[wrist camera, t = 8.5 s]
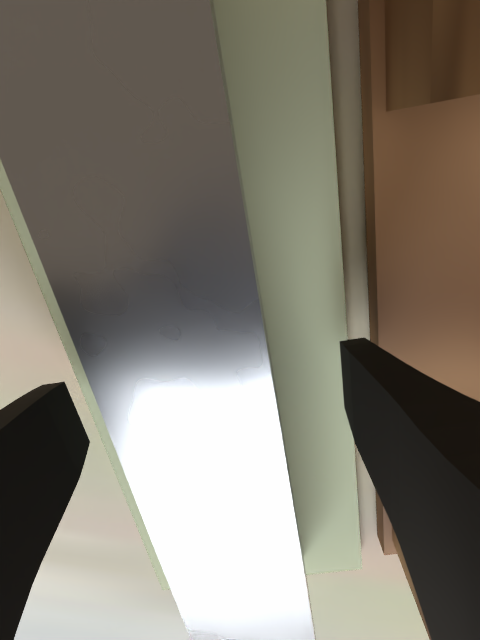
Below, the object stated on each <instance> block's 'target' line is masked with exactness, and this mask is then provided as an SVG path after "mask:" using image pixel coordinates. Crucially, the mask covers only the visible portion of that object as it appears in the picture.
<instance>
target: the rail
mask: <svg viewBox="0 0 480 640" xmlns="http://www.w3.org/2000/svg"><path fill="white" fill-rule="evenodd" d="M0 160H1V162H2V165H3V167H4V170H5V172H6V175H7V177H8V180H9V182H10V185H11V187H12V190H13V192H14V195H15V197H16V200H17V202H18V205H19V207H20V210H21V212H22V215H23V218H24V220H25V223H26V225H27V228H28V230H29V233H30V235H31V238H32V240H33V243H34V245H35V248H36V250H37V253H38V255H39V258H40V260H41V263H42V265H43V268H44V271H45V273H46V276H47V278H48V281H49V283H50V286H51V288H52V291H53V293H54V296H55V298H56V301H57V303H58V306H59V308H60V311H61V313H62V316H63V318H64V321H65V324H66V326H67V329H68V331H69V334H70V336H71V339H72V341H73V344H74V346H75V349H76V351H77V354H78V356H79V359H80V361H81V364H82V366H83V369H84V371H85V374H86V377H87V379H88V382H89V384H90V387H91V389H92V392H93V394H94V397H95V399H96V402H97V404H98V407H99V409H100V412H101V414H102V417H103V419H104V422H105V424H106V427H107V430H108V432H109V435H110V437H111V440H112V442H113V445H114V447H115V450H116V452H117V455H118V457H119V460H120V462H121V465H122V467H123V470H124V472H125V475H126V477H127V480H128V483H129V485H130V488H131V490H132V493H133V495H134V498H135V500H136V503H137V505H138V508H139V510H140V513H141V515H142V518H143V520H144V523H145V525H146V528H147V530H148V533H149V536H150V538H151V541H152V543H153V546H154V548H155V551H156V553H157V556H158V558H159V561H160V563H161V566H162V568H163V571H164V573H165V576H166V578H167V581H168V583H169V586H170V589H171V591H172V594H173V596H174V599H175V601H176V604H177V606H178V609H179V611H180V614H181V616H182V619H183V621H184V624H185V626H186V629H187V631H188V634H189V636H190V639H191V640H316V638H315V631H314V624H313V618H312V611H311V604H310V598H309V591H308V584H307V578H306V571H305V564H304V557H303V551H302V545H301V539H300V533H299V527H298V521H297V514H296V508H295V502H294V496H293V490H292V484H291V477H290V471H289V465H288V459H287V453H286V447H285V440H284V434H283V428H282V422H281V416H280V410H279V404H278V397H277V391H276V385H275V379H274V373H273V367H272V360H271V354H270V348H269V342H268V336H267V330H266V323H265V317H264V311H263V305H262V299H261V293H260V286H259V280H258V274H257V268H256V262H255V256H254V250H253V243H252V237H251V231H250V225H249V219H248V213H247V206H246V200H245V194H244V188H243V182H242V176H241V169H240V163H239V157H238V151H237V145H236V139H235V133H234V126H233V120H232V114H231V108H230V102H229V96H228V89H227V83H226V77H225V71H224V65H223V59H222V52H221V46H220V40H219V34H218V28H217V22H216V16H215V9H214V3H213V0H0Z"/></svg>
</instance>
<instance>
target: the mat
mask: <svg viewBox="0 0 480 640" xmlns="http://www.w3.org/2000/svg"><path fill="white" fill-rule="evenodd" d="M213 3H214V9H215V16H216V22H217V28H218V34H219V40H220V46H221V52H222V59H223V65H224V71H225V77H226V83H227V89H228V96H229V102H230V108H231V114H232V120H233V126H234V133H235V139H236V145H237V151H238V157H239V163H240V169H241V176H242V182H243V188H244V194H245V200H246V206H247V213H248V219H249V225H250V231H251V237H252V243H253V250H254V256H255V262H256V268H257V274H258V280H259V286H260V293H261V299H262V305H263V311H264V317H265V323H266V330H267V336H268V342H269V348H270V354H271V360H272V367H273V373H274V379H275V385H276V391H277V397H278V404H279V410H280V416H281V422H282V428H283V434H284V440H285V447H286V453H287V459H288V465H289V471H290V477H291V484H292V490H293V496H294V502H295V508H296V514H297V521H298V527H299V533H300V539H301V545H302V551H303V557H304V564H305V571H306V575H311V574H321V573H330V572H340V571H349V570H359V569H362V557H361V542H360V526H359V510H358V495H357V479H356V463H355V448H354V438H353V435H352V431H351V428H350V425H349V422H348V418H347V415H346V411H345V408H344V396H343V382H342V369H341V355H340V342H339V341H345V340H348V338H347V323H346V307H345V291H344V276H343V260H342V244H341V229H340V213H339V197H338V182H337V166H336V150H335V135H334V119H333V103H332V88H331V72H330V56H329V41H328V25H327V9H326V0H213ZM0 190H1V193H2V195H3V197H4V200H5V202H6V205H7V207H8V210H9V212H10V215H11V217H12V220H13V222H14V225H15V227H16V230H17V232H18V234H19V237H20V239H21V242H22V244H23V247H24V249H25V252H26V254H27V257H28V259H29V262H30V264H31V267H32V269H33V271H34V274H35V276H36V279H37V281H38V284H39V286H40V289H41V291H42V294H43V296H44V299H45V301H46V304H47V306H48V309H49V311H50V313H51V316H52V318H53V321H54V323H55V326H56V328H57V331H58V333H59V336H60V338H61V341H62V343H63V346H64V348H65V350H66V353H67V355H68V358H69V360H70V363H71V365H72V368H73V370H74V373H75V375H76V378H77V380H78V383H79V385H80V387H81V390H82V392H83V395H84V397H85V400H86V402H87V405H88V407H89V410H90V412H91V415H92V417H93V420H94V422H95V424H96V427H97V429H98V432H99V434H100V437H101V439H102V442H103V444H104V447H105V449H106V452H107V454H108V457H109V459H110V461H111V464H112V466H113V469H114V471H115V474H116V476H117V479H118V481H119V484H120V486H121V489H122V491H123V494H124V496H125V499H126V501H127V503H128V506H129V508H130V511H131V513H132V516H133V518H134V521H135V523H136V526H137V528H138V531H139V533H140V536H141V538H142V540H143V543H144V545H145V548H146V550H147V553H148V555H149V558H150V560H151V563H152V565H153V568H154V570H155V573H156V575H157V577H158V580H159V582H160V585H161V587H162V590H169V589H170V586H169V583H168V581H167V578H166V576H165V573H164V571H163V568H162V566H161V563H160V561H159V558H158V556H157V553H156V551H155V548H154V546H153V543H152V541H151V538H150V536H149V533H148V530H147V528H146V525H145V523H144V520H143V518H142V515H141V513H140V510H139V508H138V505H137V503H136V500H135V498H134V495H133V493H132V490H131V488H130V485H129V483H128V480H127V477H126V475H125V472H124V470H123V467H122V465H121V462H120V460H119V457H118V455H117V452H116V450H115V447H114V445H113V442H112V440H111V437H110V435H109V432H108V430H107V427H106V424H105V422H104V419H103V417H102V414H101V412H100V409H99V407H98V404H97V402H96V399H95V397H94V394H93V392H92V389H91V387H90V384H89V382H88V379H87V377H86V374H85V371H84V369H83V366H82V364H81V361H80V359H79V356H78V354H77V351H76V349H75V346H74V344H73V341H72V339H71V336H70V334H69V331H68V329H67V326H66V324H65V321H64V318H63V316H62V313H61V311H60V308H59V306H58V303H57V301H56V298H55V296H54V293H53V291H52V288H51V286H50V283H49V281H48V278H47V276H46V273H45V271H44V268H43V265H42V263H41V260H40V258H39V255H38V253H37V250H36V248H35V245H34V243H33V240H32V238H31V235H30V233H29V230H28V228H27V225H26V223H25V220H24V218H23V215H22V212H21V210H20V207H19V205H18V202H17V200H16V197H15V195H14V192H13V190H12V187H11V185H10V182H9V180H8V177H7V175H6V172H5V170H4V167H3V165H2V162H1V160H0Z"/></svg>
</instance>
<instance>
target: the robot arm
mask: <svg viewBox="0 0 480 640" xmlns="http://www.w3.org/2000/svg"><path fill="white" fill-rule="evenodd" d="M339 342H340V355H341V369H342V382H343V396H344V408H345V411H346V415H347V418H348V422H349V425H350V428H351V431H352V435H353V438H354V441H355V444H356V446H357V448H358V451H359V453H360V455H361V457H362V460H363V462H364V464H365V466H366V469H367V471H368V473H369V475H370V477H371V480H372V482H373V484H374V486H375V489H376V491H377V493H378V495H379V498H380V500H381V502H382V504H383V506H384V509H385V511H386V513H387V515H388V518H389V520H390V522H391V524H392V527H393V529H394V532H395V534H396V537H397V539H398V542H399V544H400V547H401V550H402V553H403V556H404V559H405V562H406V565H407V568H408V570H409V573H410V576H411V579H412V582H413V585H414V588H415V591H416V594H417V597H418V600H419V603H420V606H421V609H422V612H423V615H424V619H425V622H426V625H427V628H428V631H429V634H430V637H431V640H480V402H479V401H477V400H475V399H473V398H470V397H468V396H466V395H464V394H462V393H460V392H458V391H456V390H454V389H452V388H450V387H448V386H446V385H444V384H442V383H440V382H438V381H436V380H435V379H433V378H431V377H429V376H427V375H425V374H424V373H422V372H420V371H418V370H417V369H415V368H413V367H412V366H410V365H408V364H406V363H405V362H403V361H402V360H400V359H398V358H397V357H395V356H393V355H392V354H390V353H389V352H387V351H385V350H384V349H382V348H381V347H379V346H377V345H376V344H374V343H373V342H371V341H369V340H368V339H366V338H358V339H352V340H345V341H339ZM89 443H90V441H89V439H88V436H87V434H86V432H85V429H84V427H83V425H82V422H81V420H80V417H79V415H78V413H77V410H76V408H75V406H74V403H73V401H72V399H71V396H70V394H69V391H68V389H67V387H66V384H65V382H60V383H53V384H46V385H42V386H40V387H38V388H36V389H34V390H32V391H30V392H28V393H27V394H25V395H23V396H21V397H20V398H18V399H17V400H15V401H13V402H12V403H10V404H9V405H7V406H6V407H4V408H3V409H1V410H0V640H14V637H15V634H16V631H17V628H18V625H19V622H20V619H21V616H22V613H23V610H24V607H25V604H26V602H27V599H28V596H29V593H30V590H31V587H32V584H33V582H34V579H35V577H36V575H37V572H38V570H39V567H40V565H41V562H42V560H43V558H44V556H45V554H46V551H47V549H48V547H49V545H50V543H51V541H52V538H53V536H54V534H55V532H56V530H57V527H58V525H59V523H60V521H61V519H62V516H63V514H64V512H65V510H66V508H67V505H68V503H69V501H70V499H71V496H72V494H73V492H74V490H75V487H76V485H77V483H78V480H79V478H80V475H81V472H82V468H83V465H84V462H85V458H86V455H87V451H88V447H89Z"/></svg>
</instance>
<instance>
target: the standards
mask: <svg viewBox="0 0 480 640" xmlns="http://www.w3.org/2000/svg"><path fill="white" fill-rule="evenodd" d="M358 18H359V45H360V72H361V99H362V126H363V154H364V181H365V208H366V235H367V263H368V290H369V317H370V341H371V342H373V343H374V344H376V345H377V346H379V347H381V348H382V349H384V350H385V351H387V352H389V353H390V354H392V355H393V356H395V357H397V358H398V359H400V360H402V361H403V362H405V363H406V364H408V365H410V366H412V367H413V368H415V369H417V370H418V371H420V372H422V373H424V374H425V375H427V376H429V377H431V378H433V379H435V380H436V381H438V382H440V383H442V384H444V385H446V386H448V387H450V388H452V389H454V390H456V391H458V392H460V393H462V394H464V395H466V396H468V397H470V398H473V399H475V400H477V401H479V402H480V0H358ZM376 507H377V535H378V538H379V541H380V544H381V547H382V550H383V553H384V555H390V554H398V557H399V559H400V562H401V564H402V567H403V570H404V572H405V575H406V578H407V580H408V583H409V586H410V588H411V591H412V594H413V596H414V599H415V602H416V604H417V607H418V610H419V612H420V615H421V617H422V620H423V623H424V625H425V628H426V631H427V633H428V636H429V639H430V640H431V637H430V634H429V631H428V628H427V625H426V622H425V619H424V615H423V612H422V609H421V606H420V603H419V600H418V597H417V594H416V591H415V588H414V585H413V582H412V579H411V576H410V573H409V570H408V568H407V565H406V562H405V559H404V556H403V553H402V550H401V547H400V544H399V542H398V539H397V537H396V534H395V532H394V529H393V527H392V524H391V522H390V520H389V518H388V515H387V513H386V511H385V509H384V506H383V504H382V502H381V500H380V498H379V495H378V493H377V491H376Z"/></svg>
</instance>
